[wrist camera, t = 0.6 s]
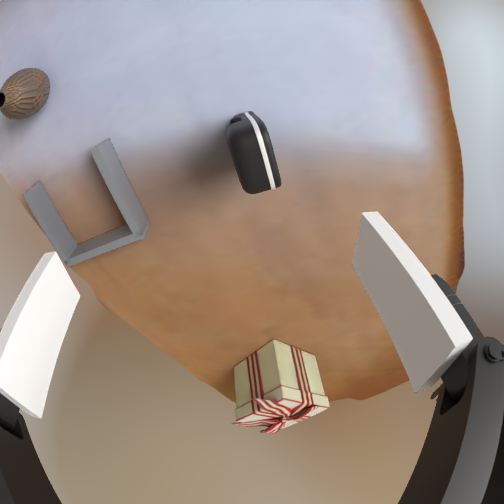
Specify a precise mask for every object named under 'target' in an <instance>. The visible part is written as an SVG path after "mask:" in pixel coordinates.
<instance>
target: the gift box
mask: <svg viewBox="0 0 504 504" xmlns="http://www.w3.org/2000/svg"><path fill="white" fill-rule="evenodd" d="M234 376H235V391H236V406H237V408H236V409H235V417H236V421H237V422H239V423H233V424H238V425H243V426H267V427H269V428H267V429H265V430H262V431H260V432H261V433H276V432H278V431H279V430H280V429H281V428H285V427H288V426H290V425H293V424H295V423H297V422H300V421H302V420H304V419H307V418H309V417H311V416H313V415H315V414H317V413H319V412H321V411H323V410H325V409H328V408H329V402H328V398H327V396H325V394H324V390H323V386H322V382H321V378H320V374H319V370H318V366H317V363H316V359H315V356H314V355H311V354H309V353H306V352H304V351H301V350H299V349H297V348H294V347H292V346H289V345H287V344H284V343H282V342H279V341H277V340H274V339H273V340H271V341H270V342H269V343H267V344H266V345H264V346H263V347H262V348H260V349H259V350H257V351H256V352H254V353H253V354H252V355H250V356H249V357H247V358H246V359H244V360H243V361H242V362H240V363H239V364H237V365H236V366H235V367H234Z"/></svg>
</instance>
